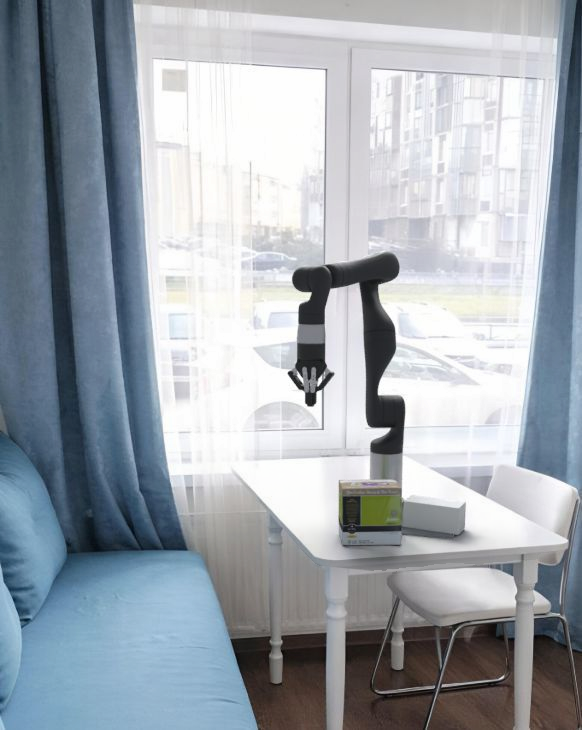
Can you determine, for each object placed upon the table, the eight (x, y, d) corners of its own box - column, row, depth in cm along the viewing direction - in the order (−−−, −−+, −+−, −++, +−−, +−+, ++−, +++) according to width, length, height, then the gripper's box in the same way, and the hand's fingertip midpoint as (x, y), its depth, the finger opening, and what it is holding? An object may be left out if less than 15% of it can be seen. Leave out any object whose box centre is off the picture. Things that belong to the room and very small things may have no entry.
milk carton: (458, 535, 213) (388, 524, 221) (465, 527, 219) (397, 518, 228) (459, 508, 212) (389, 498, 220) (466, 501, 218) (397, 492, 227)
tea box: (395, 533, 215) (396, 478, 213) (401, 546, 205) (403, 487, 203) (337, 533, 214) (338, 478, 213) (341, 546, 204) (342, 487, 203)
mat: (385, 520, 227) (385, 519, 226) (455, 526, 222) (455, 525, 221) (378, 532, 216) (378, 530, 216) (452, 538, 211) (452, 537, 211)
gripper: (338, 341, 221) (337, 405, 222) (291, 340, 224) (290, 403, 226) (332, 342, 214) (331, 409, 215) (283, 341, 217) (282, 407, 219)
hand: (310, 406), depth 221 cm, fingers closed
